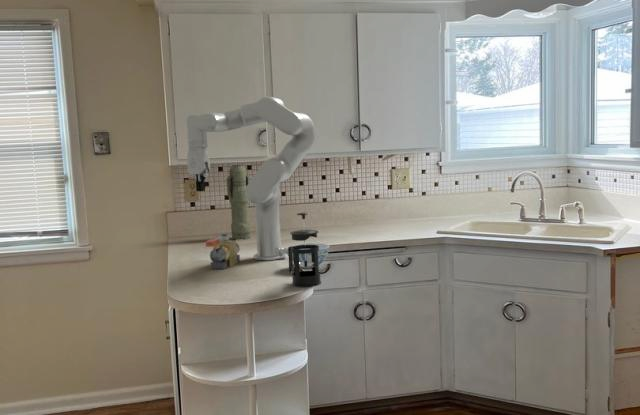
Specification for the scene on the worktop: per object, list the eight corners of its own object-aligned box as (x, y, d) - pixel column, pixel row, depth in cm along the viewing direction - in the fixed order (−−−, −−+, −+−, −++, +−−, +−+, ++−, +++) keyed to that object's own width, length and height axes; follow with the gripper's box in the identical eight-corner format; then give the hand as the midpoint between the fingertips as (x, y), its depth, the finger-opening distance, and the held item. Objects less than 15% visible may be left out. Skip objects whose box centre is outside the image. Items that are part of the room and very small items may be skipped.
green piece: (225, 239, 307) (221, 166, 304) (244, 235, 316) (239, 164, 312) (238, 240, 302) (233, 166, 298) (256, 237, 311) (252, 164, 307)
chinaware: (294, 274, 223) (293, 252, 222) (284, 266, 237) (283, 245, 236) (335, 269, 227) (334, 248, 226) (323, 262, 241) (322, 241, 240)
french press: (328, 282, 208) (325, 211, 205) (310, 288, 200) (307, 215, 198) (300, 278, 215) (297, 210, 212) (282, 284, 207) (278, 213, 205)
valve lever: (222, 239, 245) (221, 233, 245) (230, 239, 245) (230, 233, 244) (204, 246, 231) (204, 240, 231) (214, 246, 230) (213, 240, 230)
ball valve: (242, 260, 251) (240, 238, 250) (225, 269, 236) (223, 245, 235) (226, 260, 253) (225, 238, 252) (208, 269, 238) (207, 245, 237)
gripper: (179, 146, 261) (182, 191, 263) (200, 145, 250) (203, 192, 252) (195, 145, 266) (198, 189, 268) (216, 144, 255) (219, 190, 257)
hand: (200, 191), depth 260 cm, fingers closed
